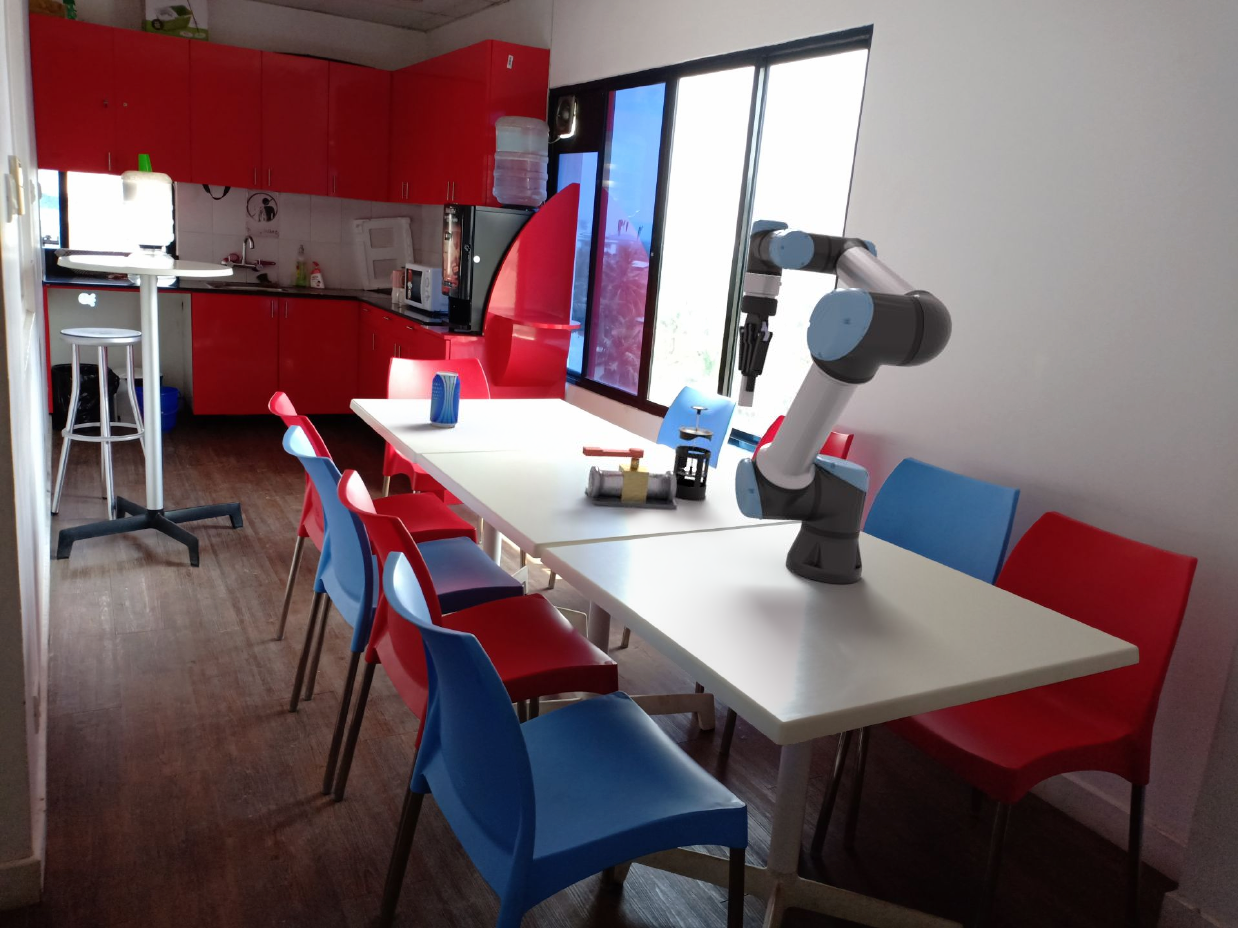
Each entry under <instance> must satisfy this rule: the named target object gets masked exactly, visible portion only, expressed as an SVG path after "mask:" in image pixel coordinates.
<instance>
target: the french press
mask: <svg viewBox="0 0 1238 928" xmlns="http://www.w3.org/2000/svg"><path fill="white" fill-rule="evenodd" d="M690 408H691V409H693V410H696V415H697V418H696V424H695V425H696V426H695V427H693V426H680V427H678V431H679V435H678V438H679V439H681V440H683V441H685V442H686V441H687V442H690V441H693V440H694V441H693V445H687V444H679V445H677V446H676V447H675V453H674V454H675V456H674V465H673V471H674V472H675V475H676V481H677V488H676V495H675V499H680V500H684V501H694V502H698V501H704V500H706V498H707V495H706V492H707V491H706V490H707V479H708V473H709V465H710V459H711V457H712V450H710V449H707V448H705V447H701V446H696V441H697V438H703V439H707V440H709V442H712V437H713V436H715V435H714V434H715V432H713V431H712V430H709V429H705V428H701V427H699V418H700V415H702V414H701V413H702V411H708V410H709V409H708V408H707V407H705V406H700V405H693V406H690ZM688 459H691V462H690V466H689V467H688V466H687V465H688ZM694 459H695V460H696V466H695V467H693V461H694ZM687 477H688V478H687ZM693 478H694V479H693Z"/></svg>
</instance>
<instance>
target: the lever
mask: <svg viewBox="0 0 1238 928" xmlns="http://www.w3.org/2000/svg"><path fill="white" fill-rule="evenodd" d="M644 453H645V450H644V449H642V448H638V447H637V448H636V447H631V448H628V449H611V448H610V449H609V448H601V447H599V446H582V454H583V455H584V456H585V457H600V458H601V457H604V458H606V457H610V458H611V457H612V458H613V457H614V458H632V457H633V458H639V459H643V458H644Z"/></svg>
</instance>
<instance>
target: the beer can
mask: <svg viewBox="0 0 1238 928" xmlns="http://www.w3.org/2000/svg"><path fill="white" fill-rule="evenodd" d="M431 383H432V385H431V397H430V409H429V410H430V411H429V412H430V413H429V421H430V422H431V425H432V426H433V427H436V428H444V429H447V428H448V429H449V428H451V429H452V428H454V427H456V425H457V424H458V423H459V422H458V420H459V412H460V411H459V410H460V409H459V408H460V395H461V386H462V385H461V380H460V378H459V374H458V373H455V372H451V371H437V372H435V375H434V376H433V379H432V382H431Z"/></svg>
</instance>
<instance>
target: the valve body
mask: <svg viewBox="0 0 1238 928" xmlns="http://www.w3.org/2000/svg"><path fill="white" fill-rule="evenodd" d="M640 459H641V458H633V457H630V464H619V465H618V470H603V469H600V468H599V466H595V465H592V466H591V467H590V469H589V474H588V483H587V485H588V486H587V487H585V490H584V492H585V491H586V492H585V493H586V495H587V494H588V495H587V496H588V498H589V499H590V501H591V502H592V504H593V505H594V506H595V507H596V506H597V507H598V506H599V507H615V508H617V507H618V508H634V509H637V508H638V509H653V510H654V509H656V510H672V511H673V510H677V509H678V505H677V504H676V503H675V502H674V500H675V499H676V497H675V495H676V488H677V481H676V475H675V472H674V470H667V471H666V472H665V473H652V472H649V470H648V469H647V468H646V467H645V466H644V465H640Z"/></svg>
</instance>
